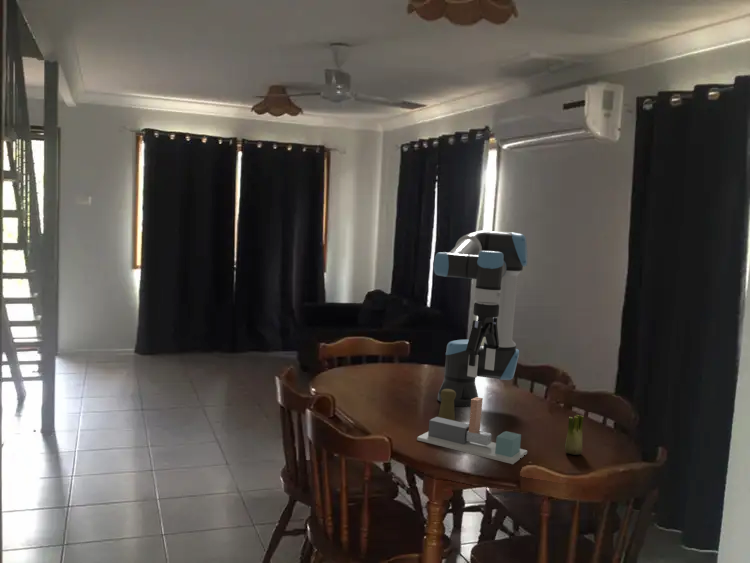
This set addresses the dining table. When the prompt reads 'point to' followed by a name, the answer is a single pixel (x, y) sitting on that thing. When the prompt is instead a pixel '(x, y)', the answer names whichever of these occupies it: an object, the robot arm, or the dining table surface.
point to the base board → (473, 448)
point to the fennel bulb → (574, 436)
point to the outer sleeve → (448, 430)
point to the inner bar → (476, 424)
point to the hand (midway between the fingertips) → (480, 373)
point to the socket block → (508, 444)
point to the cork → (447, 404)
